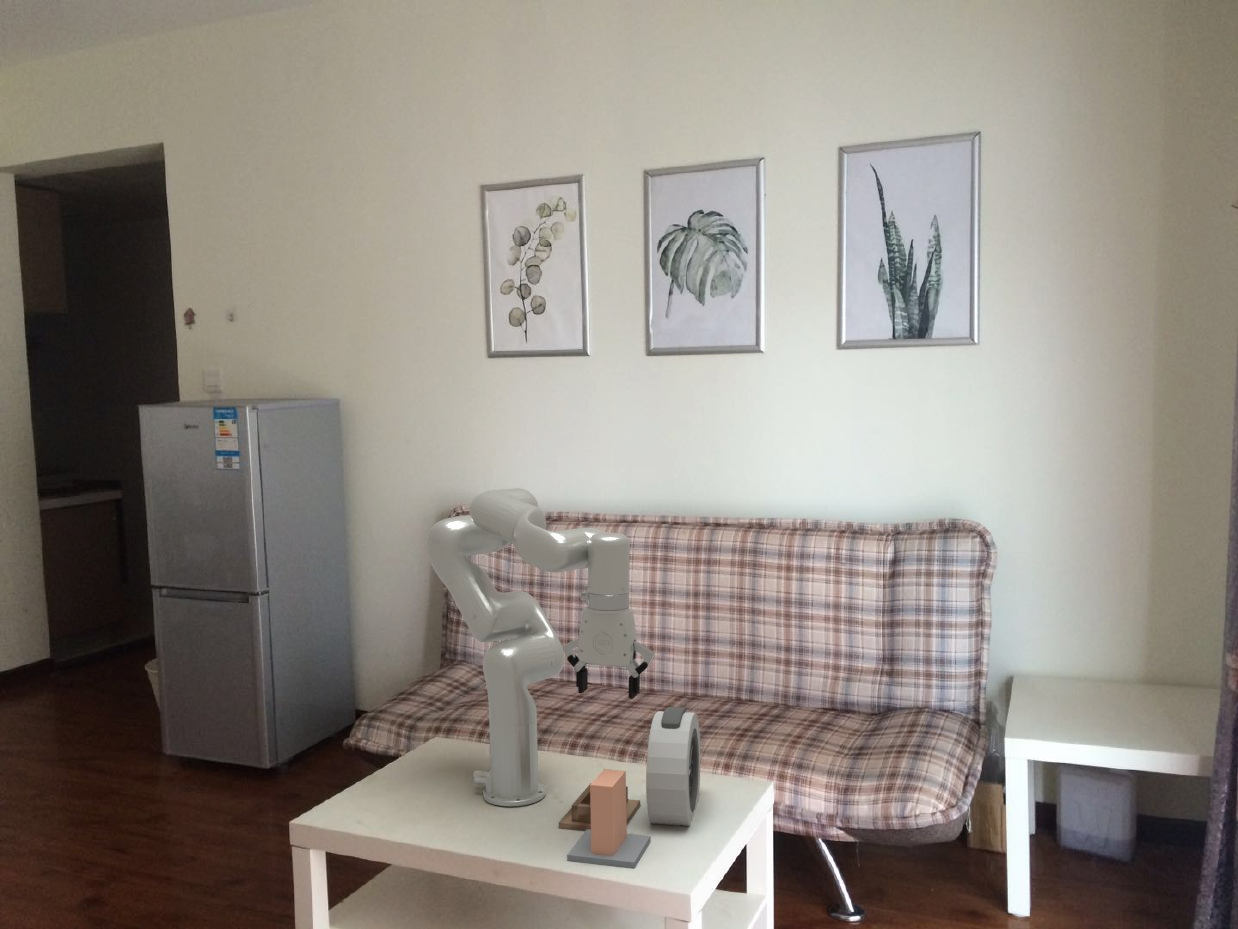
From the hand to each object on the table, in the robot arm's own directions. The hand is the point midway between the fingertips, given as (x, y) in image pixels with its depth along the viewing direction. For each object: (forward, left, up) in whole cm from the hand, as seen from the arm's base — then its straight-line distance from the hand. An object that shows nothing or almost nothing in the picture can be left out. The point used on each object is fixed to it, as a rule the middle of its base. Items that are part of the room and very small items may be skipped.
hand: (607, 694), depth 181 cm
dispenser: (-4, +6, -26) cm, 27 cm away
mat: (+2, -8, -26) cm, 27 cm away
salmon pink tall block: (+2, -8, -25) cm, 26 cm away
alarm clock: (+9, +12, -26) cm, 30 cm away
